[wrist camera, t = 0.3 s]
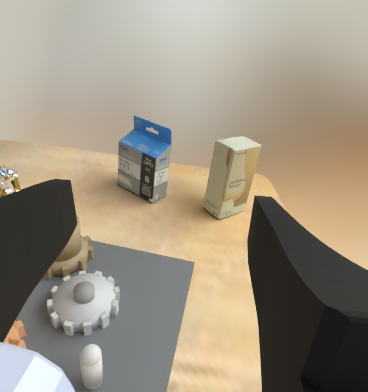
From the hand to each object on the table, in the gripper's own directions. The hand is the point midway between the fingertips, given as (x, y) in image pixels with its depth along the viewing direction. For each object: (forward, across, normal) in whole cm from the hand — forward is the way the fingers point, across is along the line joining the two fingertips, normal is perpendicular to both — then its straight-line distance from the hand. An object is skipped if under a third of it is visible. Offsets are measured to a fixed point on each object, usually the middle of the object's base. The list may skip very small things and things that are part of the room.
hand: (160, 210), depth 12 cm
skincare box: (+35, -4, +20) cm, 41 cm away
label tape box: (+37, +11, +19) cm, 43 cm away
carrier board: (+11, +10, +20) cm, 25 cm away
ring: (+24, +26, +18) cm, 40 cm away
